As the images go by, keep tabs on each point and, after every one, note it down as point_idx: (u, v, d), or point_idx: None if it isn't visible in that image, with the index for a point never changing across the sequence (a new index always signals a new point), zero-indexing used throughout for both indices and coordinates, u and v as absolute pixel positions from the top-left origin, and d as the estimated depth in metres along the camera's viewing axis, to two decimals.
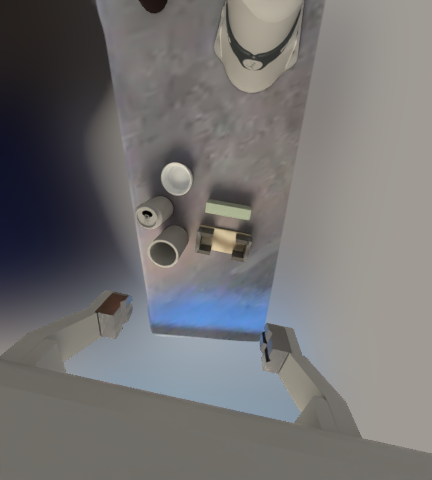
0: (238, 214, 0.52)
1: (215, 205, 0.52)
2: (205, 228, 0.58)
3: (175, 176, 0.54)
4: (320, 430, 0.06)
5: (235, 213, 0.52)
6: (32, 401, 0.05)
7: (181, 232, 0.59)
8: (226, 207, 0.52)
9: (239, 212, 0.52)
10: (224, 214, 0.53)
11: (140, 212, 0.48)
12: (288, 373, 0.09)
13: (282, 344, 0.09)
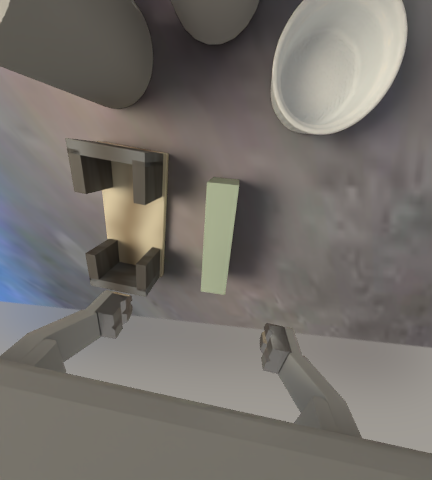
0: (212, 269, 0.21)
1: (231, 212, 0.18)
2: (159, 172, 0.20)
3: (326, 63, 0.16)
4: (320, 430, 0.06)
5: (213, 263, 0.20)
6: (32, 401, 0.05)
7: (130, 81, 0.16)
8: (227, 241, 0.19)
9: (217, 271, 0.21)
10: (207, 237, 0.19)
11: None
12: (288, 373, 0.09)
13: (282, 344, 0.09)
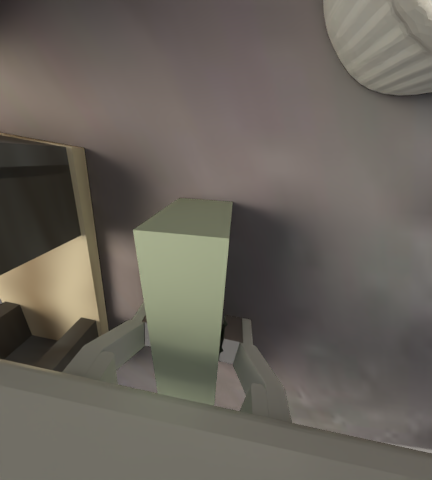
0: None
1: (211, 303, 0.07)
2: (57, 189, 0.09)
3: None
4: (320, 430, 0.06)
5: (181, 392, 0.09)
6: (32, 401, 0.05)
7: None
8: (208, 359, 0.08)
9: None
10: (160, 349, 0.08)
11: None
12: (239, 363, 0.09)
13: (235, 334, 0.09)
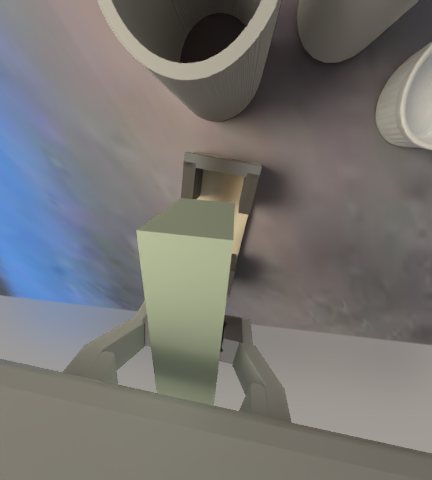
0: None
1: (213, 305, 0.07)
2: None
3: None
4: (320, 430, 0.06)
5: (180, 393, 0.09)
6: (32, 401, 0.05)
7: (248, 98, 0.17)
8: (208, 361, 0.08)
9: None
10: (160, 350, 0.08)
11: None
12: (239, 363, 0.09)
13: (234, 334, 0.09)
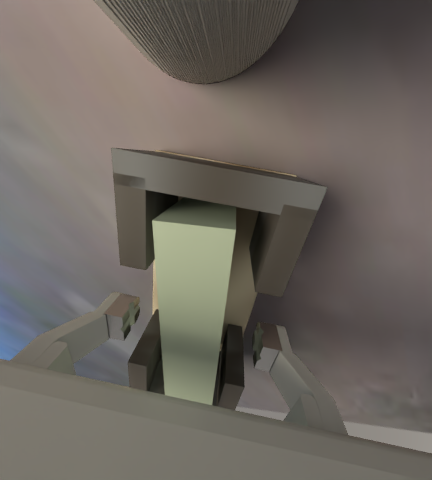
0: (182, 379, 0.10)
1: (217, 288, 0.07)
2: None
3: None
4: (320, 430, 0.06)
5: (185, 372, 0.10)
6: (32, 401, 0.05)
7: None
8: (211, 340, 0.09)
9: (193, 383, 0.10)
10: (168, 331, 0.09)
11: None
12: (278, 371, 0.09)
13: (273, 342, 0.09)
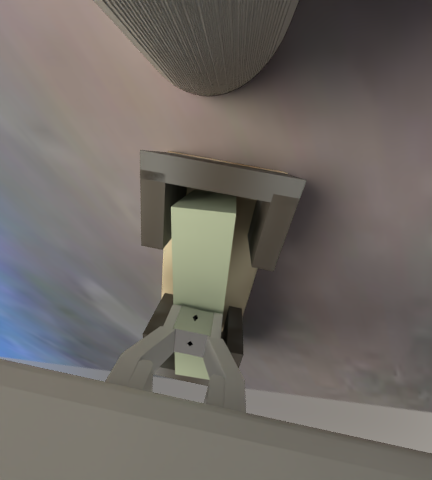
0: None
1: (221, 262, 0.09)
2: None
3: None
4: (320, 430, 0.06)
5: None
6: (32, 401, 0.05)
7: (274, 35, 0.08)
8: (216, 309, 0.11)
9: None
10: (180, 301, 0.11)
11: None
12: (207, 356, 0.09)
13: (204, 328, 0.09)
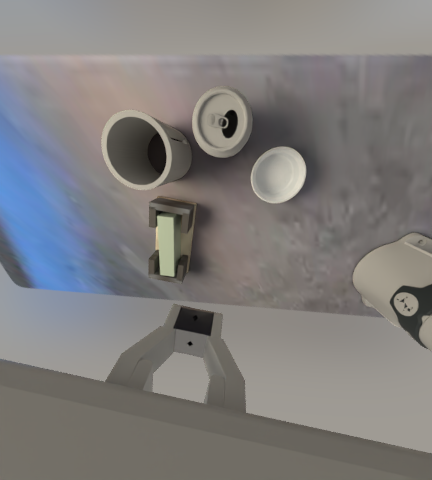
0: (165, 261, 0.37)
1: (171, 231, 0.34)
2: (192, 214, 0.36)
3: (277, 167, 0.32)
4: (320, 430, 0.06)
5: (165, 258, 0.36)
6: (32, 401, 0.05)
7: (182, 174, 0.32)
8: (171, 246, 0.35)
9: (167, 262, 0.37)
10: (160, 244, 0.35)
11: (233, 105, 0.20)
12: (207, 356, 0.09)
13: (204, 328, 0.09)
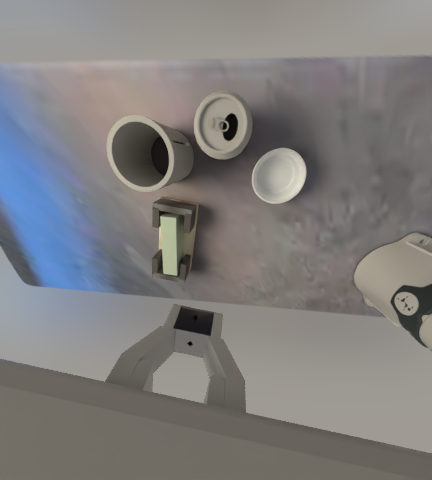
0: (167, 260, 0.38)
1: (174, 231, 0.35)
2: (194, 214, 0.37)
3: (278, 168, 0.33)
4: (320, 430, 0.06)
5: (168, 257, 0.37)
6: (32, 401, 0.05)
7: (184, 175, 0.33)
8: (174, 245, 0.36)
9: (170, 261, 0.38)
10: (163, 243, 0.36)
11: (233, 109, 0.21)
12: (207, 356, 0.09)
13: (204, 328, 0.09)
